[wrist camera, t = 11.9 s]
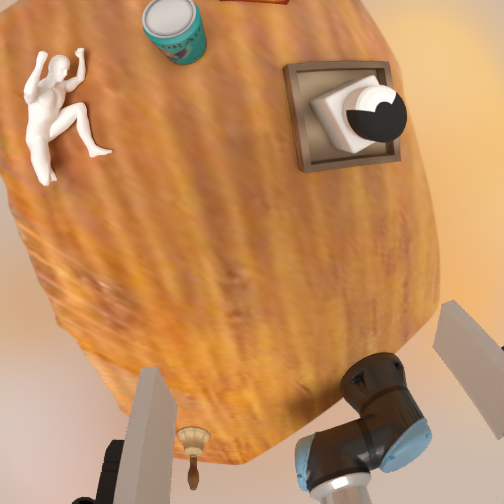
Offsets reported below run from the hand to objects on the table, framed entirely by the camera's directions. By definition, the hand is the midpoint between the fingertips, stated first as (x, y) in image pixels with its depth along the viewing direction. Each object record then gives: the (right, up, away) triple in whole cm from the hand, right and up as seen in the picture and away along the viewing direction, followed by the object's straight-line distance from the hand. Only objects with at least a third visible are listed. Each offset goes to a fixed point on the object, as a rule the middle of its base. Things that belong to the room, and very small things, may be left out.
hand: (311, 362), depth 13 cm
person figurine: (-30, +25, +25) cm, 46 cm away
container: (+10, +25, +28) cm, 38 cm away
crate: (+10, +25, +28) cm, 39 cm away
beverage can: (-12, +33, +23) cm, 42 cm away
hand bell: (-17, -41, +55) cm, 70 cm away
